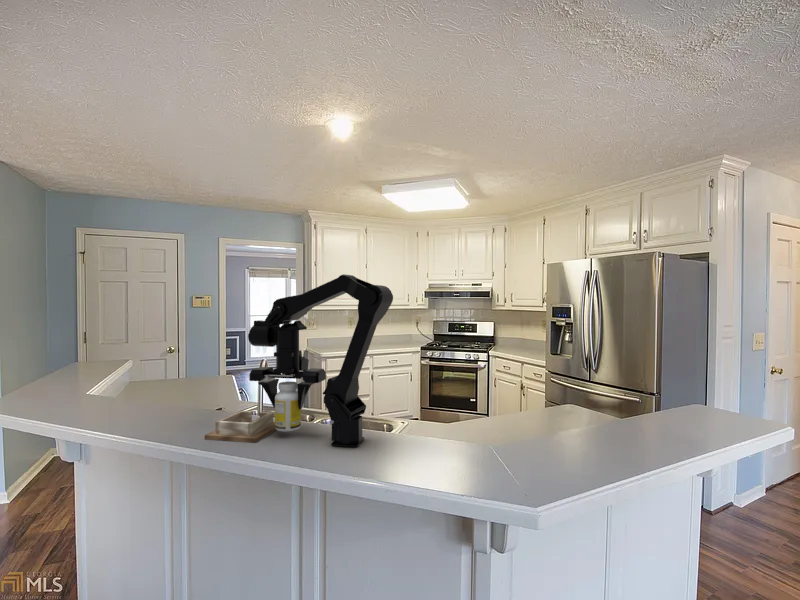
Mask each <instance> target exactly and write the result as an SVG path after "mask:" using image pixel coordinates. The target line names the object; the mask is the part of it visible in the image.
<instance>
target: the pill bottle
mask: <svg viewBox="0 0 800 600" xmlns="http://www.w3.org/2000/svg"><path fill="white" fill-rule="evenodd" d="M297 384H298V381H297V382H296V381H282V382H278V385H277V389H278V390H279V392H277V394H276V396H275V408H274V422H275V429H276V431H278V432H293V431H297V430H298V429H300V428H301V426H302V409H299V407H298V388H297Z"/></svg>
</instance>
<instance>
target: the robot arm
mask: <svg viewBox="0 0 800 600" xmlns="http://www.w3.org/2000/svg"><path fill="white" fill-rule="evenodd" d="M345 294H348V295H349V297H352V298H353V299H355V300H357V301H358V304H357V316H358V317H357V318H358V320H357V323H356V325H355V329H354V331H353V335H352V337H351V339H350V343H349V345H348V347H347V348H348V349H347V351H346V355H345V357H344V360H343V362H342V365H341V369H340V371H339V373H338V374H337V375H335V376H333V377H329V378H328V379H327V372H326V370H325V369H324V368H313V367H311V368H308V367H309V361H310V360H309V359H308V358H306V357H305V356H302V355H303V354H302V353H303V352H302V350H300V331H305V330H307V329H308V328H307V326H306V325H305V324H304V323H303V322H302V321H301V320H300V319H301V318H303V317H304V316H305V315H307V314H308V313H309V312H310V311H311V310H312V309H313V308H315V307H318V306H320V305H322V304H325V303H326V302H329V301H331V300H334V299H336V298H338V297H340V296H343V295H345ZM393 301H394V295H393V292H392V290H391V289H390V288H389V287H388V286H385V285H379V284H373V283H370V282H367V281H365V280H363V279H360V278H358V277H356V276H355V275H350V274H341V275H338V277H336V278H334V279H332V280H330V281H327V282H325V283H323V284H320V285H318V286H317V287H315V288H312V289H310V290H307V291H306V292H303V293H301V294H296V295H291V296H285V297H282V298H278V299H276V300H275V301H273V303H272V307H271V310H270V311H269V313H267V316H266V318H265V319H264V320H263V319H262V320H261V319H260V320H254V321H253V325H252V326H251V328H250V330H249V332H248V335H247V337H248V338H247V339H248V341H249V343H250V345H251V346H253V347H268V348H269V347H270V348H271V347H272V348H273V347H276V348H275V352H273V357H274V358H275V361H276V362H275V366H276V367H275V368H273V366H271V367H270V366H259V367H257V368H252V369H251V370H250V371H249V374H248V377H249V379H248V381H249V382H257V384H258V385H260V386H261V387H262V389H263V391H265V394H266V395H267V397H268V399H269V401H270V403H271V404H272V405H271V406H272V407H273V409H275V396H276V394H277V393H278V385H279V381H280V379H300V381H301V382H298V383H297V392H298V407H299V409H301V410H302V409H303V407H304V404H305V402H306V401H305V400H306V398H307V395H308V393H309V390H310V389H311V386H312V385H314V384H319V383H321V382H322V381H326V380H327V381H326V387H325V389H324V391H323V392H322V395H324V396H323V404H324V406H325V408H326V409H327V412H328V414H329V419H330V421H331V422H332V423H331V441H332V442H331V443H330V445H331V446H333V447H345V448H359V446H360V445H361V444H362V443H363V441H365V437H364V436H363V415H364V414H365V412H366V409H367V405H366V404H365V402H364V401H363V400H362V399H361V398H360V397H359V390H360V385H359V376H360V374H361V370H362V368H363V366H364V362H365V360H366V356H367V354H368V352H369V349H370V346H371V344H372V339H373V338H374V335H375V331H376V328H377V326H378V324H379V322H380V321H381V320H382V319H383V318H384V316H386V314H387V312H388V311H389V308H390V307H391V306H392V304H393ZM292 321H294V322H293V323H292Z"/></svg>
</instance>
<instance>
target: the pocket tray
mask: <svg viewBox="0 0 800 600" xmlns="http://www.w3.org/2000/svg"><path fill="white" fill-rule="evenodd" d="M252 414H253V412H252V411H250V410H249V411H248V410H238V411H237V412H235V413H232V414H230V415H228V416H225V417H223V418H221V419H218V420H217V421H215V429H214V430H213V431H210V432H209V433H206V434H204V440H207V441H209V440H210V441H223V442H224V441H226V442H227V441H228V442H237V443H238V442H240V443H241V442H242V443H256V444H257V443H258V442H259V441H261V440H263V439H264V438H266V437H268V436H269V435H271V434H272V433H274V432H276V431H277V430H276V429H275V421H274V412H271V411H270V412H269V411H261V412H259V418H256V419H255V420H253V417H252Z"/></svg>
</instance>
